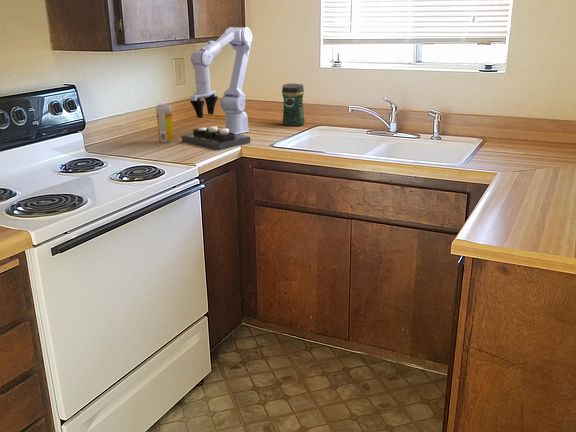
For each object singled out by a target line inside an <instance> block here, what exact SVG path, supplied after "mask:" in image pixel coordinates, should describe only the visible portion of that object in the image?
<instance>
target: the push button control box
mask: <svg viewBox="0 0 576 432" xmlns="http://www.w3.org/2000/svg"><path fill="white" fill-rule="evenodd" d="M198 128H199V127H198ZM198 128H193V129H192V132H193V133H192V132H191V133H186V134H182V135H181V142H183V143H187V144H191V145H196V146H201V147H205V148H209V149H212V150H213V149H214V150H219V151H222V150H225V149H231V148H235V147H238V146H243V145H247V144H250V143H251V136H248V135H242V134H234V133H230V132H229V134H227V135H220V129H218V132H214V133H210V132H209V129H208V127H206V128H207V130H202V131H201V130H198ZM201 128H205V127H201ZM234 146H235V147H234ZM230 147H231V148H230Z"/></svg>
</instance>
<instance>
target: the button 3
mask: <svg viewBox="0 0 576 432" xmlns="http://www.w3.org/2000/svg"><path fill="white" fill-rule="evenodd" d="M219 130H220V135H227V134H229V129H227V128H226V127H224V128H219Z"/></svg>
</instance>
